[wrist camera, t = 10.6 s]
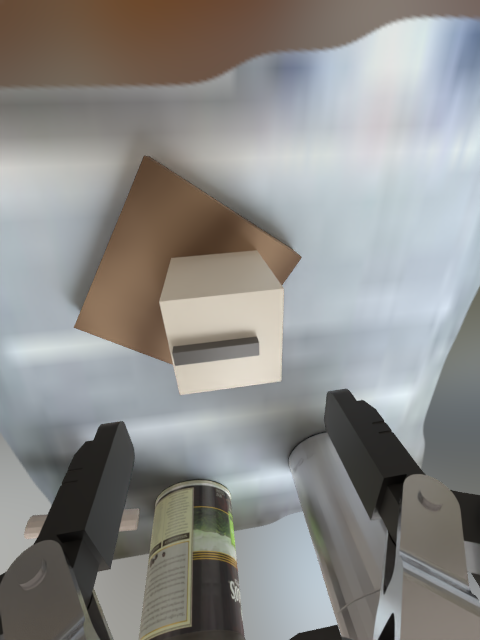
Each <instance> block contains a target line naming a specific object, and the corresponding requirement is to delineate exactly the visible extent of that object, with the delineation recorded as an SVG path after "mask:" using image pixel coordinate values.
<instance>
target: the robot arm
mask: <svg viewBox="0 0 480 640" xmlns="http://www.w3.org/2000/svg"><path fill="white" fill-rule="evenodd" d="M324 422H325V427H326V431H327V432H326V433H321V434H318V435H315V436H312V437H310V438H308V439H306V440H305V441H303V442H301V443H300V444H299V445H298V446H297V447H296V448H295V449H294V450H293V451H292V453H291V455H290V457H289V467H290V470H291V473H292V477H293V480H294V483H295V487H296V490H297V493H298V497H299V500H300V503H301V507H302V510H303V513H304V516H305V519H306V523H307V526H308V529H309V532H310V536H311V539H312V542H313V545H314V549H315V552H316V555H317V558H318V562H319V565H320V568H321V571H322V574H323V578H324V581H325V584H326V588H327V591H328V594H329V597H330V601H331V604H332V607H333V610H334V614H335V617H336V620H337V623H338V625H334V626H330V627H325V628H321V629H316V630H312V631H307V632H303V633H298V634H297V635H295V636H294V637H292V638H291V639H290V640H480V603H479V600H478V598H477V597H476V596H475V595H473V594H472V593H471V591H470V588H469V583H468V574H467V572H470V573H471V574H472V575H473V577H474V578H475V580H476V582H477V583H478V585H479V586H480V495H475V494H468V493H462V492H457V491H452V490H449V488H447V487H446V486H445V485H444V484H443V483H441V482H440V481H438V480H436V479H435V478H432V477H430V476H427V475H425V474H424V473H423V471H422V470H421V469H420V468H419V466H418V465H417V464H416V462H415V461H414V460H413V458H412V457H411V456H410V454H409V453H408V452H407V450H406V449H405V448H404V446H403V445H402V444H401V442H400V441H399V440H398V438H397V437H396V436H395V434H394V433H392V432H391V429H390V428H389V426H388V425H387V424H386V423H385V422H384V420H383V418H382V417H381V416H380V414H379V413H378V412H377V410H376V409H375V408H373V407H372V406H371V405H369V404H368V403H366V402H365V401H364V400H361V401H356V399H355V398H354V396H353V395H352V393H351V392H350V391H349V390H348V389H341V390H335V391H329V392H328V393H327V398H326V407H325V416H324ZM134 459H135V453H134V447H133V444H132V442H131V439H130V436H129V434H128V431H127V429H126V426H125V424H124V422H123V421H120V422H113V423H107V424H101V425H100V426H99V428H98V430H97V433H96V435H95V438H94V440H93V441H86V442H85V443H84V444H83V446H82V447H81V448H80V449H79V450H78V451H77V453H76V454H75V455H74V457H73V459H72V461H71V464H70V466H69V468H68V473H66V475H65V477H64V479H63V482H62V486H60V488H59V491H58V493H57V495H56V497H55V500H54V502H53V504H52V506H51V509H50V511H49V513H48V515H47V518H46V520H45V522H44V524H43V527H42V529H41V531H40V533H39V536H38V538H37V540H36V541H35V543H34V545H32V546H31V547H29V548H28V549H26V550H25V551H24V552H23V553H21V555H20V556H19V557H17V558H16V560H15V561H14V562H13V563H12V564H11V566H10V567H9V569H8V570H7V572H5V573H3V574H2V575H0V640H113V637H112V635H111V632H110V629H109V627H108V624H107V622H106V619H105V616H104V614H103V611H102V609H101V606H100V604H99V601H98V598H97V596H96V593H95V590H94V588H93V587H94V584H95V580H96V576H97V572H98V571H103V570H108V569H110V568H111V564H112V559H113V555H114V551H115V546H116V542H117V537H118V533H119V528H120V524H121V520H122V515H123V511H124V506H125V502H126V497H127V493H128V488H129V484H130V480H131V475H132V471H133V466H134ZM338 626H339V628H338ZM339 629H340V631H339ZM340 633H341V635H340Z"/></svg>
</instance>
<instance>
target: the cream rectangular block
mask: <svg viewBox="0 0 480 640" xmlns="http://www.w3.org/2000/svg"><path fill="white" fill-rule="evenodd" d="M159 303H160V308H161V312H162V317H163V321H164V326H165V330H166V335H167V339H168V344H169V348H170V353H171V357H172V362H173V366H174V371H175V375H176V380H177V384H178V389H179V393H180V395H184V394H192V393H199V392H206V391H214V390H221V389H228V388H236V387H243V386H250V385H258V384H265V383H272V382H280V381H281V373H282V339H283V304H284V288H283V287H282V285H281V284H280V282H279V281H278V279H277V278H276V277H275V275H274V274H273V272H272V271H271V269H270V268H269V267H268V265H267V264H266V262H265V261H264V260H263V258H262V257H261V255H260V254H259V252H258V251H257V250H254V251H243V252H232V253H221V254H210V255H199V256H188V257H177V258H171V261H170V264H169V268H168V272H167V275H166V279H165V282H164V286H163V290H162V293H161V297H160V301H159Z"/></svg>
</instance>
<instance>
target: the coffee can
mask: <svg viewBox="0 0 480 640" xmlns="http://www.w3.org/2000/svg"><path fill="white" fill-rule="evenodd" d="M139 640H245V637H244V629H243V621H242V609H241V600H240V590H239V580H238V569H237V559H236V550H235V539H234V529H233V518H232V508H231V495H230V492H229V491H228V489H227V488H226V487H224V486H223V485H221V484H219V483H216V482H213V481H209V480H190V481H185V482H181V483H178V484H175V485H173V486H171V487H169V488H167V489H165V490H164V491H163V492H162V493H161V494H160V495H159V496H158V498H157V499H156V502H155V515H154V522H153V531H152V539H151V546H150V555H149V563H148V571H147V578H146V586H145V594H144V602H143V611H142V618H141V625H140V633H139Z"/></svg>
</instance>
